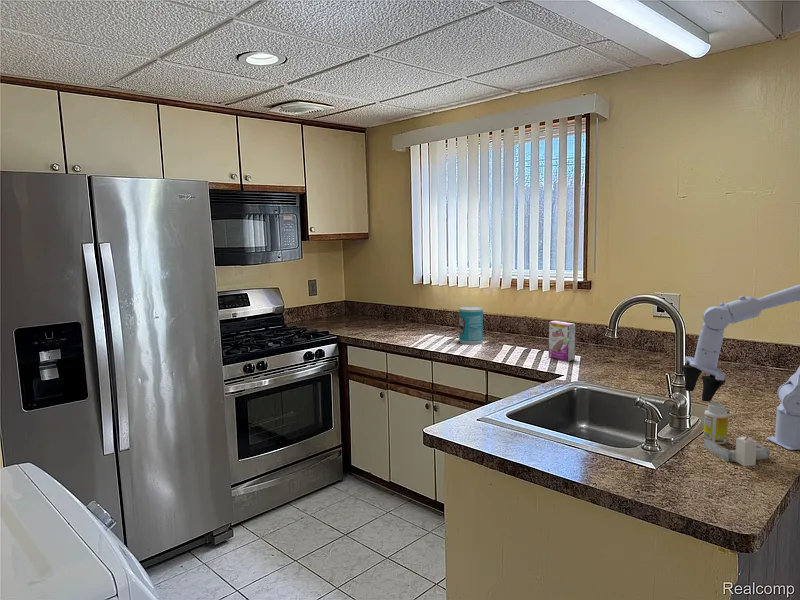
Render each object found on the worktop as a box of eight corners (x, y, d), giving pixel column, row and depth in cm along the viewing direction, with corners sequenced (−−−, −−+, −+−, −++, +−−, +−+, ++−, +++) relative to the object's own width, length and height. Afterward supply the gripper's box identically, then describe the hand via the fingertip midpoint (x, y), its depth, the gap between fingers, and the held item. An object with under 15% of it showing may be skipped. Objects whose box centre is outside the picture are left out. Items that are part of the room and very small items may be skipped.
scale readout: (746, 460, 136) (747, 435, 135) (755, 465, 133) (756, 439, 132) (735, 461, 136) (736, 436, 135) (743, 466, 133) (745, 440, 132)
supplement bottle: (729, 440, 149) (731, 404, 147) (723, 446, 145) (725, 409, 143) (706, 435, 152) (708, 400, 151) (700, 441, 148) (702, 405, 147)
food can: (455, 343, 281) (455, 309, 279) (464, 339, 291) (464, 305, 289) (478, 345, 275) (477, 310, 273) (486, 341, 286) (486, 306, 283)
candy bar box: (547, 357, 247) (548, 321, 245) (555, 355, 250) (555, 320, 248) (567, 362, 238) (568, 324, 236) (575, 360, 241) (576, 323, 239)
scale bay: (743, 444, 145) (743, 436, 145) (768, 458, 137) (769, 449, 136) (704, 447, 144) (704, 438, 144) (727, 461, 136) (728, 452, 135)
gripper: (679, 341, 158) (669, 385, 160) (712, 356, 144) (700, 404, 146) (701, 342, 159) (691, 387, 161) (736, 358, 144) (724, 406, 147)
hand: (697, 395), depth 154 cm, fingers open, 7 cm apart
